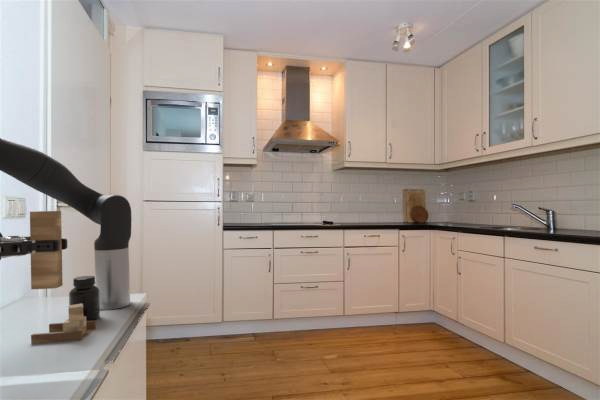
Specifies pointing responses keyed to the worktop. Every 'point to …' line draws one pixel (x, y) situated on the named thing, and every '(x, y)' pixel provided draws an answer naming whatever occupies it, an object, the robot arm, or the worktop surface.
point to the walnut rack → (62, 333)
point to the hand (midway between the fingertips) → (62, 244)
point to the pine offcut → (75, 326)
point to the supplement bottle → (86, 297)
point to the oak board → (46, 263)
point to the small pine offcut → (75, 312)
